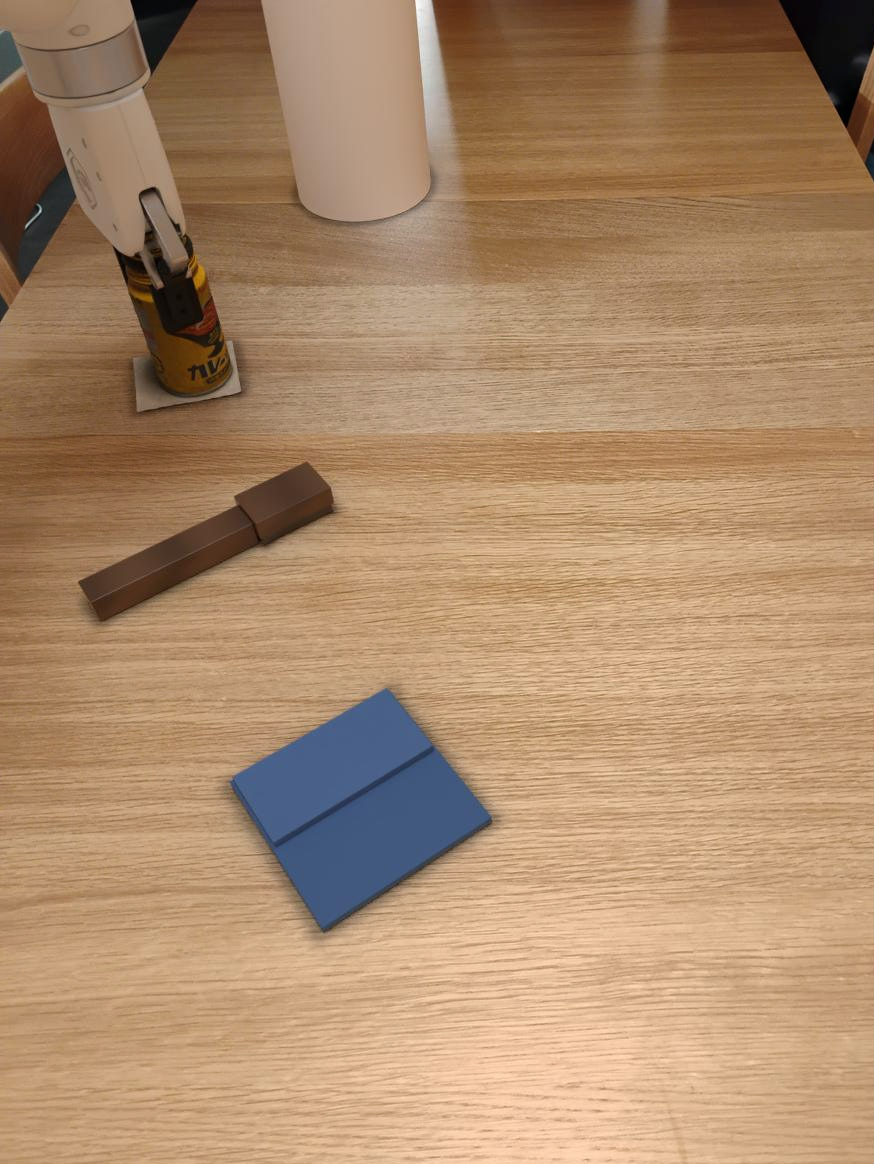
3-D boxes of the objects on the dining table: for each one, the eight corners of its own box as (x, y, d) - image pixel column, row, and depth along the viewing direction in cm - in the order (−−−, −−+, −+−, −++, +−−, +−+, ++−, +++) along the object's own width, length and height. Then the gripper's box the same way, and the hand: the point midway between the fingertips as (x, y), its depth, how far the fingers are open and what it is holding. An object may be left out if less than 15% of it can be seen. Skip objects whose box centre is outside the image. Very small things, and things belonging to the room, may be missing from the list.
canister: (438, 154, 106) (421, -68, 90) (421, 222, 97) (399, -10, 82) (313, 154, 107) (275, -65, 91) (285, 220, 99) (238, -8, 83)
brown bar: (103, 627, 67) (91, 604, 65) (84, 595, 69) (72, 572, 67) (336, 511, 73) (331, 487, 71) (312, 485, 75) (307, 460, 73)
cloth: (323, 932, 53) (319, 923, 52) (231, 786, 59) (226, 776, 58) (492, 822, 57) (491, 811, 56) (390, 694, 62) (387, 683, 61)
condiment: (241, 393, 82) (203, 259, 72) (137, 413, 81) (85, 280, 71) (232, 342, 86) (195, 209, 77) (133, 361, 85) (84, 229, 76)
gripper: (-15, 32, 67) (80, 274, 81) (77, 123, 58) (167, 378, 72) (90, 2, 70) (165, 242, 84) (195, 86, 60) (259, 340, 75)
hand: (165, 303), depth 78 cm, fingers closed on condiment, 6 cm apart
